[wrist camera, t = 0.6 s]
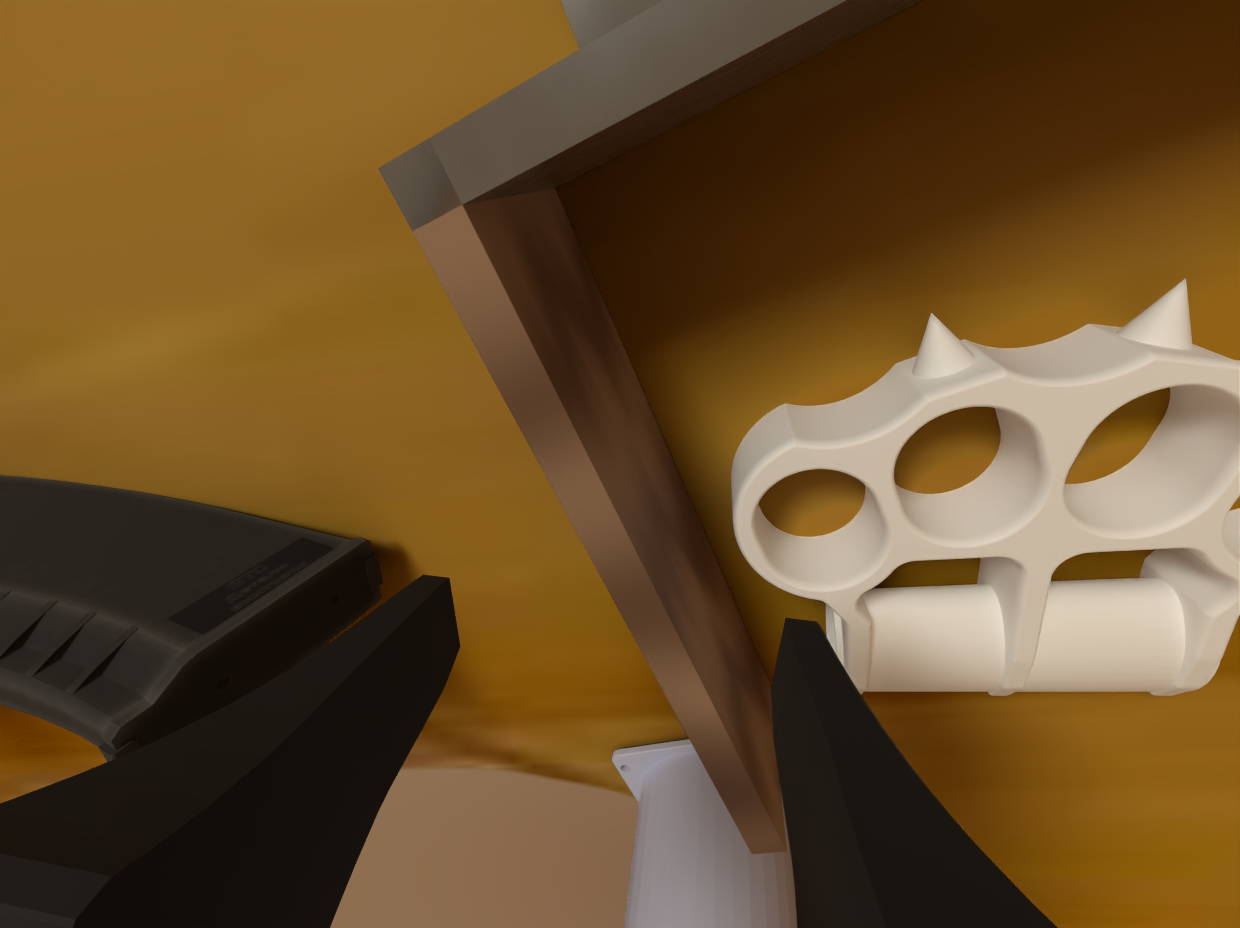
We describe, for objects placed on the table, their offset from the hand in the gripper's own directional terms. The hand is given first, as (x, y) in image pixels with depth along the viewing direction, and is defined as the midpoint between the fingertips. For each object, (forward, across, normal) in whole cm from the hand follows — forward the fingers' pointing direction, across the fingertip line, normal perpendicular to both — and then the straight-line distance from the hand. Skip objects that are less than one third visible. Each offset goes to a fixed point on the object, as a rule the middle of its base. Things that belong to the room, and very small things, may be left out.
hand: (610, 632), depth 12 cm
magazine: (+10, +27, +6) cm, 29 cm away
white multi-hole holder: (+10, -12, +1) cm, 16 cm away
